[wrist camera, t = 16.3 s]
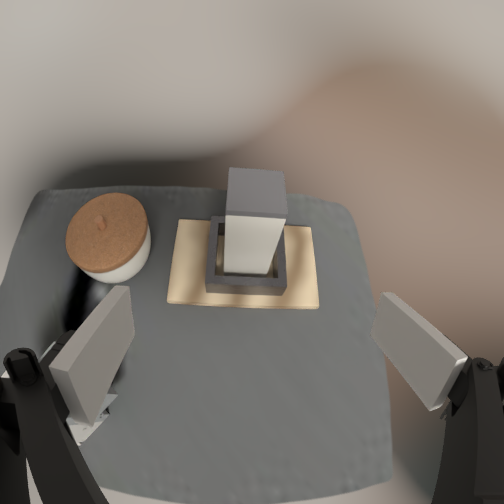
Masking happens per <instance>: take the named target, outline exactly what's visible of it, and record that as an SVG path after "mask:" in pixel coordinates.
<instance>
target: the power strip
mask: <svg viewBox="0 0 504 504" xmlns="http://www.w3.org/2000/svg"><path fill="white" fill-rule="evenodd" d="M287 215H288V211H287V200H286V190H285V180H284V172H281V171H271V170H261V169H247V168H232V167H230V168H229V177H228V189H227V201H226V218H225V247H224V276H236V277H258V278H266V275H267V272H268V270H269V267H270V264H271V261H272V258H273V255H274V253H275V250H276V247H277V244H278V241H279V238H280V235H281V233H282V230H283V227H284V224H285V221H286V218H287Z"/></svg>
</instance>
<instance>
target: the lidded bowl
mask: <svg viewBox="0 0 504 504" xmlns="http://www.w3.org/2000/svg"><path fill="white" fill-rule="evenodd" d="M150 247H151V235H150V229H149V225H148V220H147V216H146V212H145V210H144V208H143V206H142V205H141V203H140V202H139V201H138V200H137V199H135V198H134V197H132V196H130V195H127V194H123V193H108V194H103V195H101V196H98V197H96V198H94V199H92V200H90V201H89V202H87V203H86V204H85V205H83V206H82V207H81V208H80V209H79V210H78V211H77V213H76V214H75V215H74V216H73V218H72V220H71V222H70V224H69V226H68V229H67V233H66V249H67V252H68V255H69V257H70V258H71V260H72V261H73V262H74V263H75V264H76V265H77V266H78V267H79V268H81V269H82V270H83V271H84V272H85V273H86V274H87V275H89V276H90V277H92V278H94V279H96V280H98V281H101V282H104V283H120V282H123V281H126V280H128V279H130V278H132V277H133V276H135V275H136V274H137V273H138V272H139V271H140V270H141V269H142V268H143V266H144V264H145V263H146V261H147V259H148V256H149V252H150Z"/></svg>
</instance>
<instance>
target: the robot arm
mask: <svg viewBox="0 0 504 504" xmlns="http://www.w3.org/2000/svg"><path fill="white" fill-rule="evenodd" d="M134 335H135V329H134V322H133V315H132V307H131V299H130V289H129V286H119V285H115V286H114V287H113V288H112V290H111V291H110V292H109V293H108V294H107V295H106V296H105V297H104V299H103V300H102V301H101V302H100V303H99V304H98V306H97V307H96V308H95V309H94V310H93V311H92V313H91V314H90V315H89V316H88V317H87V319H86V320H85V321H84V322H83V323H82V325H81V326H80V327H79V328H78V329H77V331H74V330H70V331H68V332H66V333H65V334H63V335H62V336H61V337H60V338H59V339H58V340H57V342H56V344H54V345H53V346H52V348H51V350H49V351H48V352H47V354H46V355H45V356H44V357H43V359H42V360H41V361H40V362H38V359H37V357H36V354H35V352H34V351H33V350H31V349H29V348H18V349H15V350H12V351H11V352H9V353H8V354H7V355H6V356H5V358H4V361H3V364H4V366H5V368H6V370H7V373H8V375H9V377H10V378H3V377H0V504H30V497H29V489H28V480H27V467H26V457H27V460H28V463H29V467H30V470H31V473H32V476H33V479H34V482H35V484H36V487H37V490H38V492H39V495H40V497H41V500H42V502H43V504H109V503H108V501H107V499H106V498H105V496H104V495H103V493H102V491H101V490H100V488H99V486H98V485H97V483H96V481H95V479H94V478H93V476H92V474H91V472H90V470H89V468H88V466H87V464H86V462H85V460H84V458H83V456H82V454H81V452H80V450H79V448H78V446H77V444H76V441H75V439H74V437H73V434H72V432H71V430H70V427H69V425H68V423H67V421H66V419H67V417H68V415H69V413H70V415H71V417H72V419H73V420H74V422H75V423H77V424H80V425H84V426H87V427H91V428H93V425H94V423H95V420H96V418H97V416H98V413H99V411H100V408H101V406H102V404H103V401H104V399H105V397H106V395H107V392H108V390H109V388H110V386H111V383H112V381H113V379H114V377H115V375H116V372H117V370H118V368H119V366H120V364H121V362H122V360H123V358H124V356H125V353H126V351H127V349H128V347H129V345H130V343H131V341H132V339H133V337H134ZM370 336H371V337H372V339H373V340H374V341H375V342H376V344H377V345H378V346H379V347H380V348H381V350H382V351H383V352H384V353H385V355H386V356H387V357H388V358H389V360H390V361H391V362H392V363H393V364H394V366H395V367H396V368H397V370H398V371H399V372H400V373H401V375H402V376H403V377H404V379H405V380H406V381H407V382H408V384H409V385H410V386H411V388H412V389H413V390H414V391H415V393H416V394H417V395H418V396H419V398H420V399H421V400H422V402H423V403H424V404H425V406H426V407H427V408H428V410H429V411H431V410H433V409H436V408H438V407H441V406H442V404H443V402H444V401H445V399H446V398H447V396H448V397H449V399H450V400H451V401H450V402H449V404H448V406H447V407H446V409H445V410H444V412H443V413H442V415H441V417H440V419H442V418H443V417H444V415H446V414H447V417H446V418H445V420H446V429H445V438H444V445H443V452H442V459H441V464H440V470H439V474H438V480H437V484H436V488H435V492H434V496H433V500H432V503H431V504H504V405H503V403H502V401H503V400H504V358H503V359H502V361H501V363H500V365H499V366H493V364H492V363H491V362H490V361H488V360H486V359H484V358H474V359H473V360H472V359H471V358H470V357H469V356H468V355H467V354H466V353H465V352H463V351H462V350H461V349H460V348H459V347H458V346H456V345H455V344H454V343H453V342H452V341H451V340H450V339H449V338H448V337H446V336H445V335H444V334H442V333H441V332H440V331H438V330H437V329H436V328H435V327H434V326H433V325H431V324H430V323H429V322H428V321H427V320H425V319H424V318H423V317H422V316H420V315H419V314H418V313H417V312H416V311H415V310H413V309H412V308H411V307H410V306H408V305H407V304H406V303H405V302H404V301H402V300H401V299H400V298H399V297H397V296H396V295H395V294H394V293H392V292H388V293H386V292H385V293H381V296H380V300H379V304H378V308H377V312H376V315H375V319H374V323H373V326H372V330H371V333H370Z"/></svg>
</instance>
